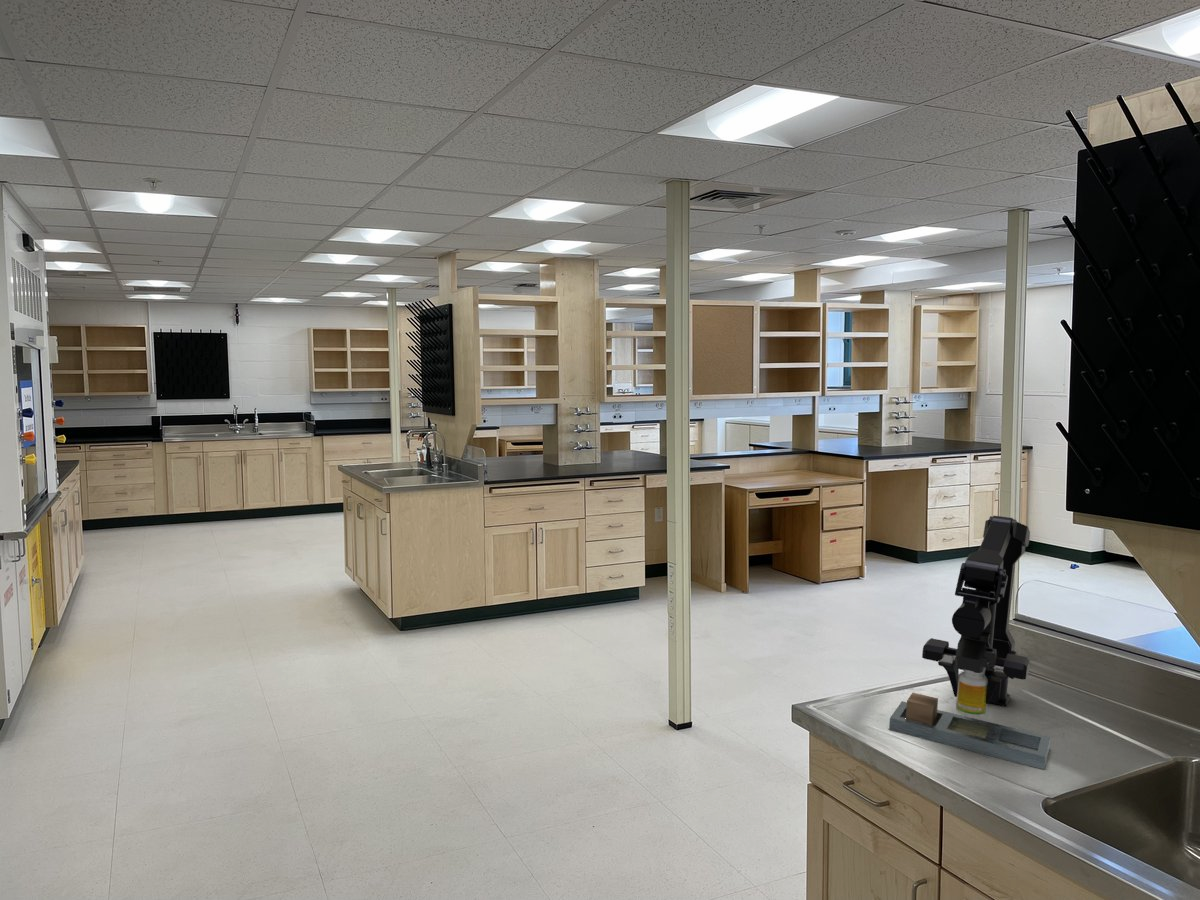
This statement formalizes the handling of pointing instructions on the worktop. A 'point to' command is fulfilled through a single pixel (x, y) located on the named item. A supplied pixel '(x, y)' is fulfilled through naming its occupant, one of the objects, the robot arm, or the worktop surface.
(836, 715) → the worktop surface
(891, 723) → the rail
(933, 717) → the walnut block
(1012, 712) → the worktop surface
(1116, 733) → the worktop surface
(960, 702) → the supplement bottle
